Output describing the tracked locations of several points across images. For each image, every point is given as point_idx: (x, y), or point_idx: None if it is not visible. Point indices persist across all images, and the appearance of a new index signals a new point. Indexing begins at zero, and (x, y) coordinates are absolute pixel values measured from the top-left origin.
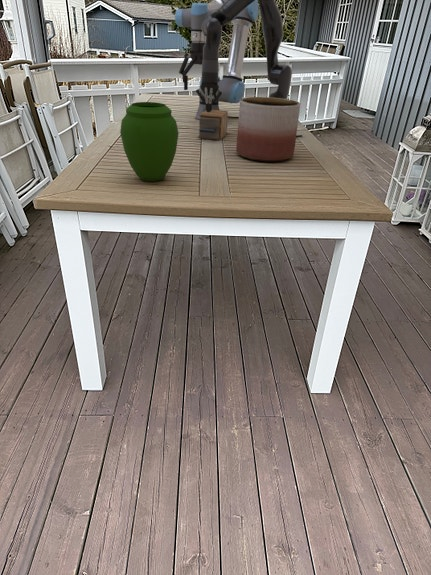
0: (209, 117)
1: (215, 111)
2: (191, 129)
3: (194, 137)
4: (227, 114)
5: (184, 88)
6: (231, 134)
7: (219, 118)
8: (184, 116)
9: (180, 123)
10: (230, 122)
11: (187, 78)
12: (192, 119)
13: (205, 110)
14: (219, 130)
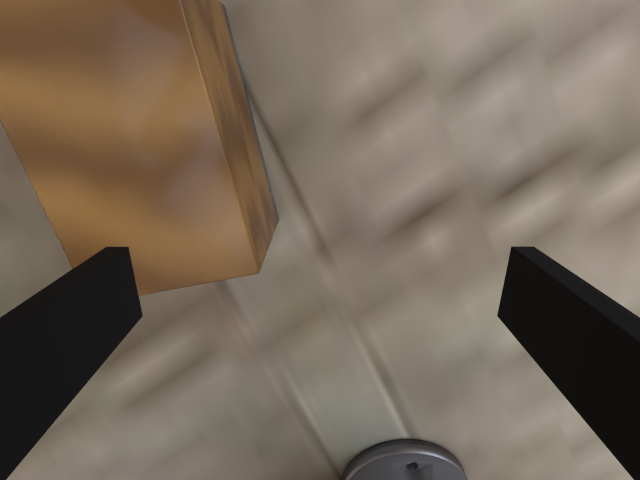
0: None
1: (146, 217)
2: (378, 220)
3: (259, 5)
4: None
5: (537, 254)
6: None
7: None
8: (532, 476)
9: (495, 327)
10: (277, 473)
11: (605, 429)
12: (470, 439)
13: (239, 210)
14: None
